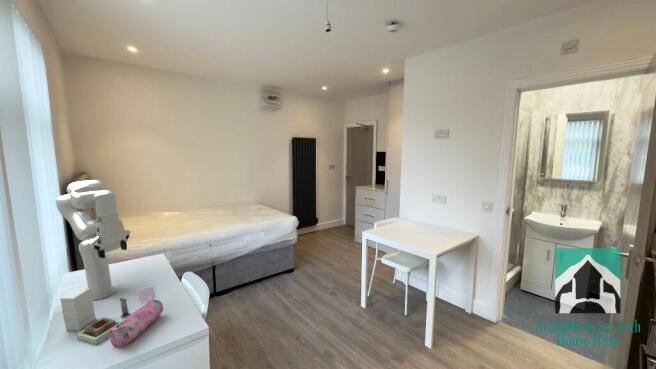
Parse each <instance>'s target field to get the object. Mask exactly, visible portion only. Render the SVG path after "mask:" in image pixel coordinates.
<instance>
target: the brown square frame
mask: <svg viewBox="0 0 656 369" xmlns="http://www.w3.org/2000/svg"><path fill="white" fill-rule="evenodd" d="M115 320H116V319H113V320H112V318H109V319H108V317H101V318H100V319H98V320H96V321H94V322H92V323H90V324H88V325H86V326H85V327H84V330H85V333H86V335H89V336H93V337H97V336H99V335H101V334H102V333H104V332H105V331H107V330H109V329H110V328H112V327H114V326H115Z"/></svg>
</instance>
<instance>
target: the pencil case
mask: <svg viewBox="0 0 656 369" xmlns="http://www.w3.org/2000/svg"><path fill="white" fill-rule="evenodd" d="M163 311H164V305H163V303H162V302H161V300H158V299H154V300H153V299H150V300H148V301H147V302H144V305H142V306H141V307H140V308H138V309H136V310H135V311H133V312H132V313H130V316H128V317H126V318H124V319H123V320H122V322H121V323H120V324H118V325H116V326H115V327H113V328H112V329H111V330H110V332H109V339H110V343H111V345H112V346H113V347H115V348H122V347H125V346H127V345H128V344H130V343H131V342H132V341H133V340H134V339H135V338H137V336H139V335H140V334H141V333H143V331H145V329H147V328H148V327H149V326H150V325H151V324H152V323H153V322H154V321H155V320H156V319H157V318H158V317H159V316H160V315H161V314H163Z"/></svg>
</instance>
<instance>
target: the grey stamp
mask: <svg viewBox="0 0 656 369" xmlns="http://www.w3.org/2000/svg"><path fill="white" fill-rule="evenodd" d="M127 299H128V298H124V297H121V298H120V299H119V301H120V308H121V315H120V319H126V318H127V317H128V316H130V315H131V312H129V310H128V309H129V308H128V300H127Z"/></svg>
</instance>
